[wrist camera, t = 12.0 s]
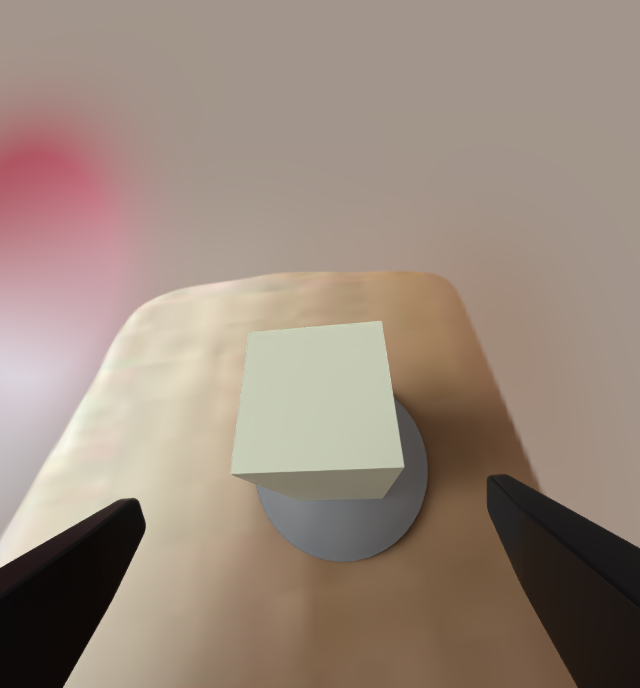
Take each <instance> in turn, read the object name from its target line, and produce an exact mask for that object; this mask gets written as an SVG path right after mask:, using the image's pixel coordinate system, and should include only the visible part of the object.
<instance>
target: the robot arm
mask: <svg viewBox="0 0 640 688" xmlns="http://www.w3.org/2000/svg"><path fill="white" fill-rule="evenodd" d="M487 508H488V512H489V515H490V517H491V519H492V522H493V524H494V526H495V528H496V531H497V533H498V535H499V537H500V540H501V542H502V544H503V546H504V549H505V551H506V553H507V555H508V557H509V560H510V562H511V564H512V566H513V569H514V571H515V573H516V575H517V577H518V580H519V582H520V584H521V586H522V588H523V590H524V592H525V594H526V595H527V597H528V599H529V601H530V603H531V605H532V606H533V608H534V610H535V612H536V614H537V615H538V617H539V619H540V621H541V623H542V624H543V626H544V628H545V630H546V632H547V633H548V635H549V637H550V639H551V640H552V642H553V644H554V646H555V648H556V649H557V651H558V653H559V655H560V657H561V658H562V660H563V662H564V664H565V666H566V667H567V669H568V671H569V673H570V674H571V676H572V678H573V680H574V682H575V683H576V685H577V687H578V688H640V548H639V547H636V546H635V545H633V544H631V543H629V542H628V541H626V540H624V539H622V538H621V537H619V536H617V535H615V534H613V533H612V532H610V531H608V530H606V529H604V528H603V527H601V526H599V525H597V524H595V523H594V522H592V521H590V520H588V519H586V518H585V517H583V516H581V515H579V514H577V513H576V512H574V511H572V510H570V509H568V508H566V507H565V506H563V505H561V504H559V503H557V502H556V501H554V500H552V499H550V498H549V497H547V496H545V495H543V494H541V493H540V492H538V491H536V490H534V489H532V488H531V487H529V486H527V485H525V484H523V483H522V482H520V481H518V480H516V479H514V478H513V477H511V476H509V475H506V474H498V475H490V476H488V478H487ZM145 528H146V523H145V519H144V516H143V513H142V509H141V506H140V503H139V501H138V500H137V499H135V498H127V499H120V500H118V501H116V502H114V503H112V504H111V505H109V506H107V507H105V508H104V509H102V510H100V511H98V512H97V513H95V514H93V515H91V516H90V517H88V518H86V519H85V520H83V521H81V522H79V523H78V524H76V525H74V526H72V527H71V528H69V529H67V530H65V531H64V532H62V533H60V534H58V535H57V536H55V537H53V538H51V539H50V540H48V541H46V542H44V543H43V544H41V545H39V546H37V547H36V548H34V549H32V550H30V551H29V552H27V553H25V554H23V555H22V556H20V557H18V558H17V559H15V560H13V561H11V562H10V563H8V564H6V565H4V566H3V567H1V568H0V688H63V686H64V685H65V683H66V681H67V679H68V678H69V676H70V674H71V672H72V671H73V669H74V667H75V665H76V664H77V662H78V660H79V658H80V656H81V655H82V653H83V651H84V649H85V648H86V646H87V644H88V642H89V641H90V639H91V637H92V635H93V634H94V632H95V630H96V628H97V627H98V625H99V623H100V621H101V620H102V618H103V616H104V614H105V612H106V611H107V609H108V607H109V605H110V603H111V601H112V600H113V598H114V596H115V594H116V592H117V590H118V588H119V585H120V583H121V581H122V579H123V577H124V575H125V573H126V571H127V569H128V567H129V564H130V562H131V560H132V558H133V556H134V554H135V552H136V550H137V548H138V546H139V543H140V541H141V539H142V537H143V535H144V533H145Z"/></svg>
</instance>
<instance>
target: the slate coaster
mask: <svg viewBox="0 0 640 688" xmlns="http://www.w3.org/2000/svg"><path fill="white" fill-rule="evenodd" d="M394 404H395V410H396V417H397V423H398V429H399V436H400V442H401V448H402V455H403V461H404V469H403V470H402V472H401V473H400V474H399V476H398V477H397V479H396V480H395V482H394V483H393V484H392V486H391V487H390V489H389V490H388V492H387V493H386V494H385V496H384V497H383V499H354V500H319V501H298V500H295V499H292V498H290V497H287V496H285V495H282V494H280V493H277V492H275V491H272V490H269V489H267V488H264V487H262V486H259V485H257V484H256V486H257V491H258V494H259V498H260V501H261V503H262V506H263V508H264V511H265V513H266V514H267V516H268V518H269V520H270V521H271V523H272V524H273V526H274V527H275V528H276V529H277V531H278V532H279V533H280V534H281V535H282V536H283V537H284V538H285V539H286V540H287V541H288V542H289V543H291V544H292V545H294V546H295V547H296V548H298V549H299V550H301V551H303V552H305V553H307V554H309V555H311V556H314V557H317V558H320V559H323V560H329V561H335V562H350V561H356V560H362V559H365V558H368V557H371V556H374V555H376V554H378V553H380V552H382V551H384V550H386V549H387V548H389V547H390V546H391V545H393V544H394V543H395V542H397V541H398V540H399V539H400V538H401V537H402V536H403V535H404V534H405V533H406V531H407V530H408V529H409V527H410V526H411V525H412V523H413V522H414V520H415V518H416V516H417V514H418V513H419V511H420V508H421V506H422V503H423V500H424V497H425V492H426V487H427V479H428V463H427V455H426V450H425V446H424V442H423V439H422V436H421V434H420V432H419V430H418V427H417V425H416V424H415V422H414V420H413V419H412V417H411V415H410V414H409V413H408V412H407V410H406V409H405V408H404V407H403V406H402V405H401V404H400V403H399V402H398V401H397V400H396V399H395V398H394Z"/></svg>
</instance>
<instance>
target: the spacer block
mask: <svg viewBox="0 0 640 688" xmlns="http://www.w3.org/2000/svg"><path fill="white" fill-rule="evenodd" d="M403 469H404V461H403V455H402V448H401V442H400V436H399V429H398V423H397V417H396V410H395V404H394V397H393V391H392V385H391V378H390V372H389V365H388V359H387V353H386V346H385V340H384V334H383V327H382V321H373V322H362V323H350V324H338V325H327V326H315V327H304V328H292V329H280V330H269V331H257V332H249V334H248V342H247V349H246V357H245V364H244V372H243V380H242V387H241V395H240V402H239V410H238V417H237V425H236V432H235V440H234V447H233V455H232V462H231V470H230V474H231V475H234V476H236V477H239V478H241V479H244V480H246V481H249V482H252V483H254V484H257V485H259V486H262V487H264V488H267V489H269V490H272V491H275V492H277V493H280V494H282V495H285V496H287V497H290V498H292V499H295V500H298V501H319V500H354V499H383V497H384V496H385V494H386V493H387V492H388V490H389V489H390V487H391V486H392V484H393V483H394V482H395V480H396V479H397V477H398V476H399V474H400V473H401V472H402V470H403Z"/></svg>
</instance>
